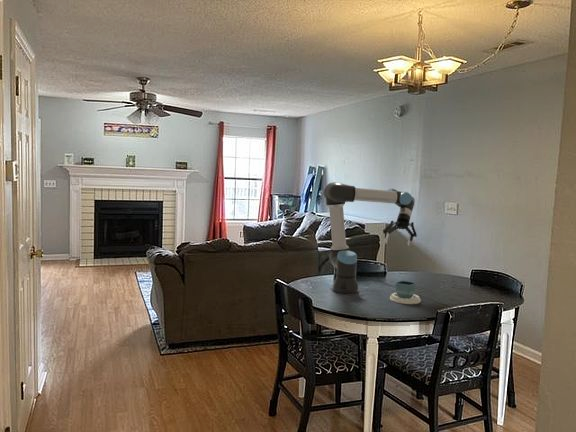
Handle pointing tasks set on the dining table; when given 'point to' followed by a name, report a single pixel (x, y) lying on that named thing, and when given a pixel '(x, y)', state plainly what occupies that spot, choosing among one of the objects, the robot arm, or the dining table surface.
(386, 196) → the robot arm
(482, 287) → the dining table surface
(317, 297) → the dining table surface
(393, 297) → the plant saucer
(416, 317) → the dining table surface
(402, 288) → the flower pot
